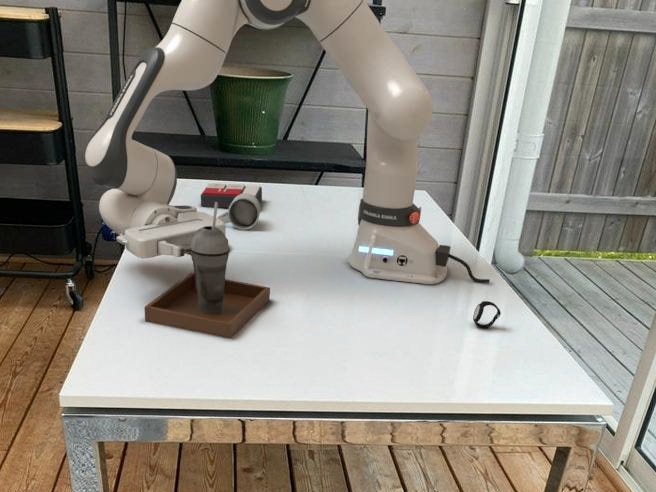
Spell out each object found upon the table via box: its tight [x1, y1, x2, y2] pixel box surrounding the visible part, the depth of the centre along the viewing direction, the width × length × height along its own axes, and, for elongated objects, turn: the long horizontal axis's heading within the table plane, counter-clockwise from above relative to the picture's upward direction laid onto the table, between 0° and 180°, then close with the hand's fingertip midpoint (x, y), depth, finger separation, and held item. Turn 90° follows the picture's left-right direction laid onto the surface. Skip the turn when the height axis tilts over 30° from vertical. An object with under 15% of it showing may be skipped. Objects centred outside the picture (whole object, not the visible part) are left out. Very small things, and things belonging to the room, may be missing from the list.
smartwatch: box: [472, 300, 502, 330], centre depth 148 cm, size 4×5×5 cm
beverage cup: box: [190, 202, 230, 314], centre depth 140 cm, size 7×7×20 cm
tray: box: [144, 272, 271, 340], centre depth 145 cm, size 17×20×3 cm
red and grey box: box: [200, 182, 263, 208], centre depth 206 cm, size 11×4×15 cm
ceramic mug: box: [217, 193, 261, 231], centre depth 190 cm, size 11×8×8 cm
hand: (201, 248), depth 141 cm, fingers open, 8 cm apart
